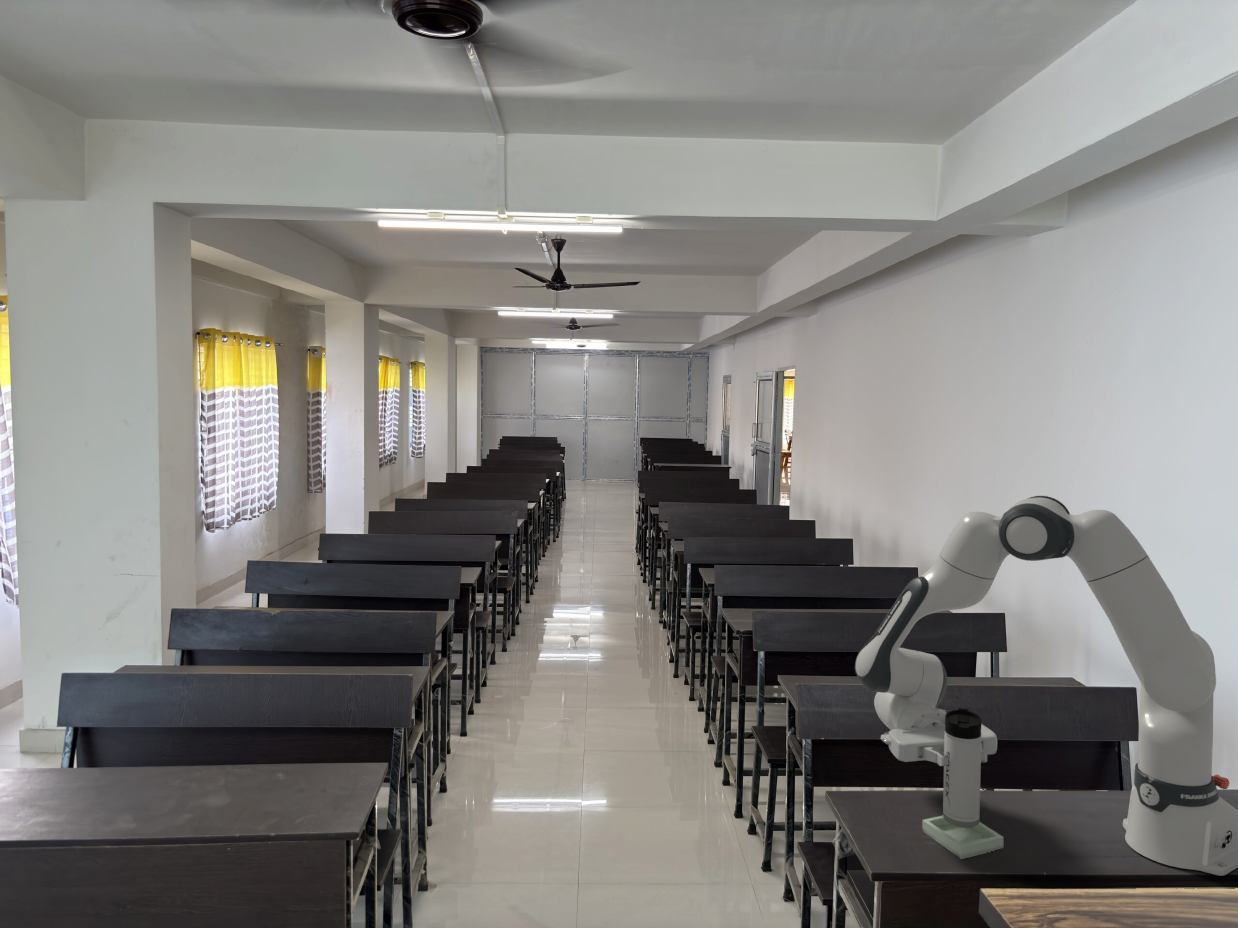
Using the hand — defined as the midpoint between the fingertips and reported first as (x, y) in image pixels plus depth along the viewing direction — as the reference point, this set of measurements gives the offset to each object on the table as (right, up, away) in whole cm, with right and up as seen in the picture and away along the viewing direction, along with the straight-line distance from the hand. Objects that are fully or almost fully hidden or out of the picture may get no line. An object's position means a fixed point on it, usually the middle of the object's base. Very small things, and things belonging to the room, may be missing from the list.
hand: (964, 760), depth 155 cm
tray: (0, -15, +2) cm, 16 cm away
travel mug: (0, -12, +2) cm, 12 cm away
